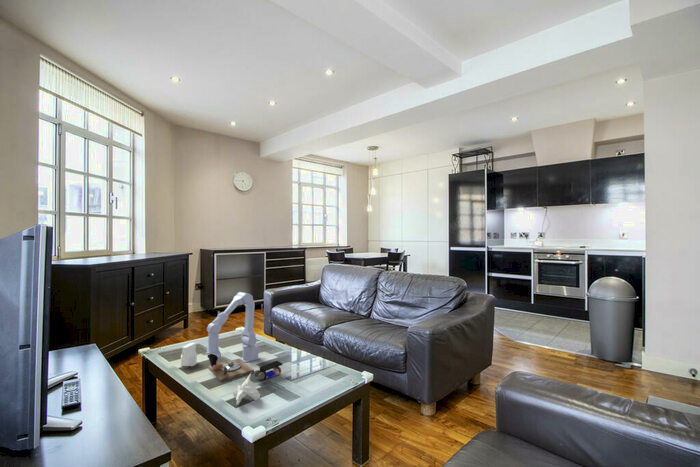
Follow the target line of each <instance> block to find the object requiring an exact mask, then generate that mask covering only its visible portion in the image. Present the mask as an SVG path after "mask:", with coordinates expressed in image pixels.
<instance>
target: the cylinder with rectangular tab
mask: <svg viewBox="0 0 700 467" xmlns="http://www.w3.org/2000/svg"><path fill="white" fill-rule="evenodd" d="M196 346H197V344H196V342H190V343H187V344H185V345H184V346H181V355H180V367H181V366H191V367H194V366H195V365H197V363H198V359H197V358H198V356H197V355H198V353H197V352H196V348H197V347H196Z"/></svg>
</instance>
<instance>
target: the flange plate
mask: <svg viewBox="0 0 700 467" xmlns="http://www.w3.org/2000/svg"><path fill="white" fill-rule="evenodd" d="M224 367H227V372H228V371H235V370H237V369H239V368H240V363H236V362H228V363H227V364H224V365H223V362H220V364H218V363H216V364H213V370H220V369H221V370H222V371H224Z"/></svg>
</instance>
